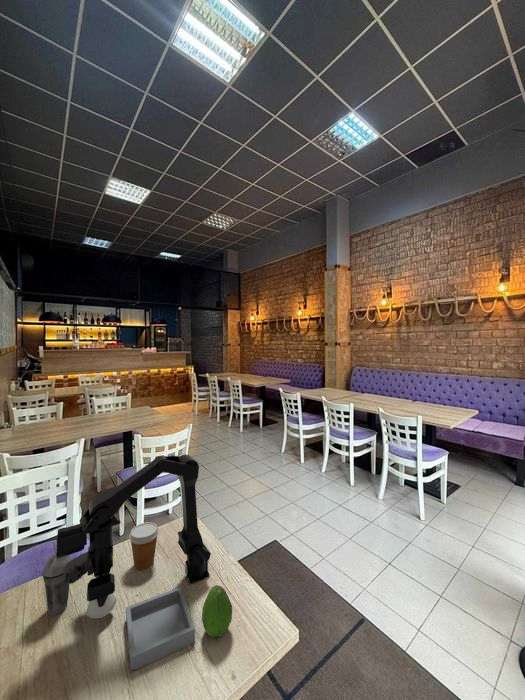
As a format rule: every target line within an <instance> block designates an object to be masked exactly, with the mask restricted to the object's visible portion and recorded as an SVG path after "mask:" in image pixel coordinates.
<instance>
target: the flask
mask: <svg viewBox="0 0 525 700" xmlns="http://www.w3.org/2000/svg"><path fill="white" fill-rule="evenodd" d="M103 575H104V572H103ZM97 577H99V573H98V576H97ZM97 577H94V578H97ZM116 602H117V598H116V596H115V594H114V593H113V594H110V595H108V597H107V599H106V601H105V604H104V606H102V607H99V606H98V603H97V599H96V600H93V601H90V602H89V601H88V604H87V608H86V610H85V613H84V614H85V615H87V617H89V618H90V619H91V620H92V619H100V618H104V617H105V616H106V615H108V614H109V613H110V612H111V611H112V610H114V607H115V606H116Z"/></svg>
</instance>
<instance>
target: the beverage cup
mask: <svg viewBox="0 0 525 700" xmlns="http://www.w3.org/2000/svg"><path fill="white" fill-rule="evenodd" d="M52 549H53V555H51V556H50V557H49V558H48V559H47V560H46V562H45V564H44V565H43V569H42V573H41V575H42V578H43V583H44V587H45V595H46V596H45V597H46V607H47V614H48V615H49V616H57V615H59V614H61V613H62V612H64V611H65V610H66V608H68V601H69V596H70V595H69V594H70V593H69V592H70V585H71V584H69V583H68V582H65V580H66V578H65V575H64V570H65V565H66V564H67V563H68V562H69V561H71V560H73V559H72V556H71V555H68V556H65V557H62V558H59V559H57V547H56V542H55V540H53V541H52Z"/></svg>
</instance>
